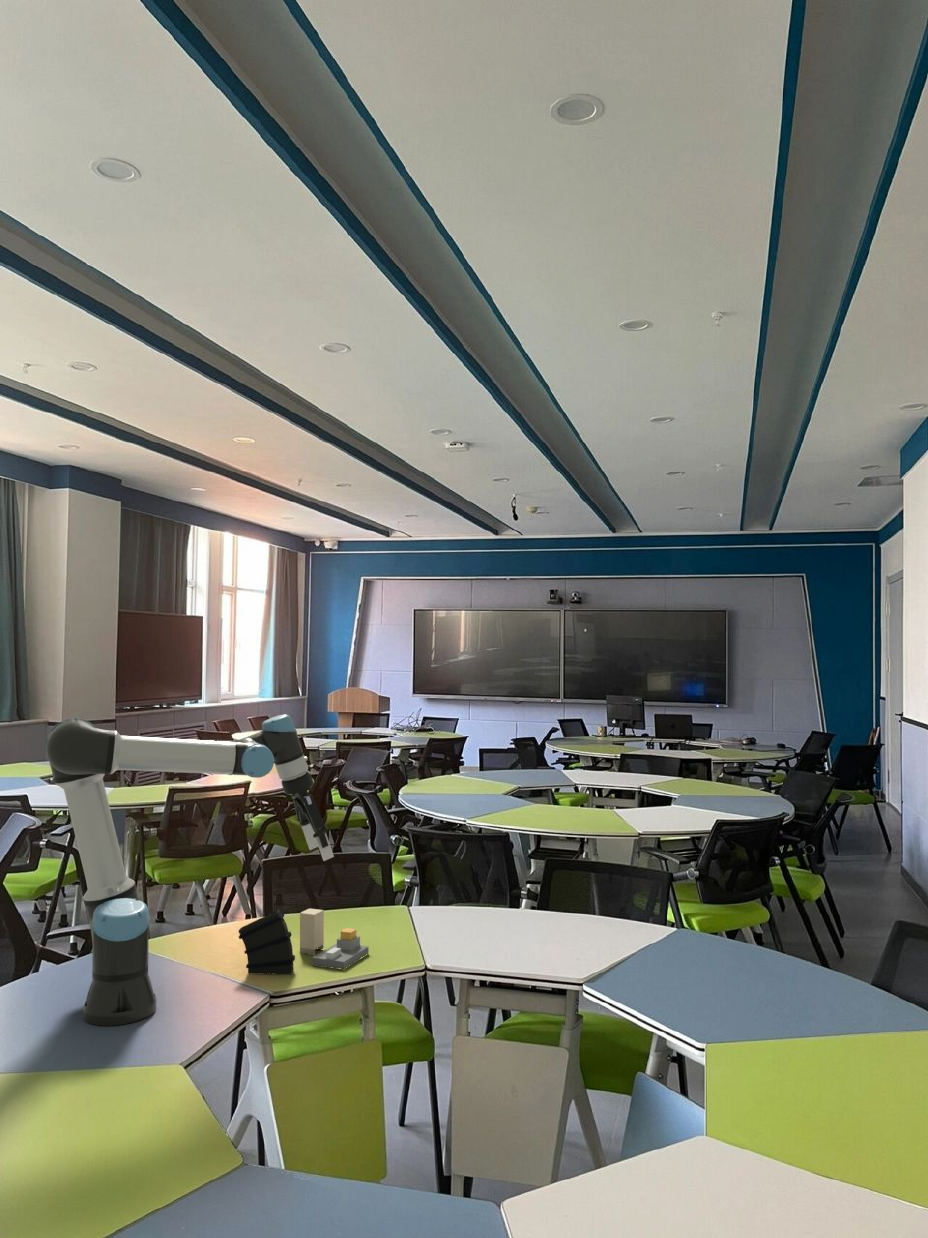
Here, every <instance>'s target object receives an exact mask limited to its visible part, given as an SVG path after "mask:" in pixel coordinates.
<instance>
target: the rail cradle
mask: <svg viewBox="0 0 928 1238" xmlns="http://www.w3.org/2000/svg"><path fill="white" fill-rule="evenodd" d="M369 949H370V948H369V946H368V945H361V936H359V935H356V938H355V939H353V940H344V939H341V936H340V937H338V938H337V939H336V943H335V944H333V945H332V946H329V947H328V948H326V949H324V950H322V951H321V952H320V953H317V954H315V955H313V957H312V966H313V965H317V966H316V967H320V966H324V967H323V968H327V967H333V968H332V969H334V968H341V969H345V968H346V967H348V966H349V965H351V964H352V965H354V964H355V963H354V962H355V961H357V960H359V959H360V958H361V957H363V956H365V955H366V954H368V953H369ZM368 955H369V954H368ZM365 957H366V956H365ZM363 958H364V957H363ZM360 960H361V959H360ZM360 960H359V961H360ZM357 962H358V961H357ZM353 963H354V964H353ZM352 965H351V966H352ZM325 966H326V967H325ZM349 967H350V966H349ZM349 967H348V968H349ZM346 969H347V968H346ZM346 969H345V970H346Z"/></svg>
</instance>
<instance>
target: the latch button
mask: <svg viewBox="0 0 928 1238" xmlns="http://www.w3.org/2000/svg"><path fill="white" fill-rule="evenodd" d="M356 936H357V929H356V928H350V927H346V928H344V929H342V930H341V931H340V937H341V939H344V940H353V939H355V938H356Z"/></svg>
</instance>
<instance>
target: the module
mask: <svg viewBox="0 0 928 1238" xmlns="http://www.w3.org/2000/svg"><path fill="white" fill-rule="evenodd" d="M324 913H325V912H324V909H316V908H307V909H305V910H303V911H301V912H300V913H299V954H304V953H308V954H307V955H311V954H315V955H316V950H317V948H318V949H323V948H324V947H325V946H324V938H325V937H324V933H325V932H324V928H325V927H324V926H325V925H324V923H325V921H324V916H325V914H324ZM324 949H325V948H324Z"/></svg>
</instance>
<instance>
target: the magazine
mask: <svg viewBox="0 0 928 1238" xmlns="http://www.w3.org/2000/svg"><path fill="white" fill-rule="evenodd" d="M284 917H285V913H284V912H282V911H281V909H276V910H275V911H273V912H271V913H269V914H266V915H264V916H263V917H260V918H258V919H256V920H254V921H251V922H250V923H247V924H246V925H244V926H241V927H240V928H239V929H238V934H239V935H238V939H239V940H242V942H243V945H244V948H245V950H244V954H245V955H247V957H246V959H247V964H246V966H245V969H247V974H249V973H264V974H263V975H273V974H272V973H275V974H274V975H291V974H293V971H294V962H295V960H296V955H295V954H293V945H292V940H291V937H292V932H291V931H289V928H288V926H287V923H286V920H285V919H284ZM267 973H268V974H267ZM269 973H270V974H269Z"/></svg>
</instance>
